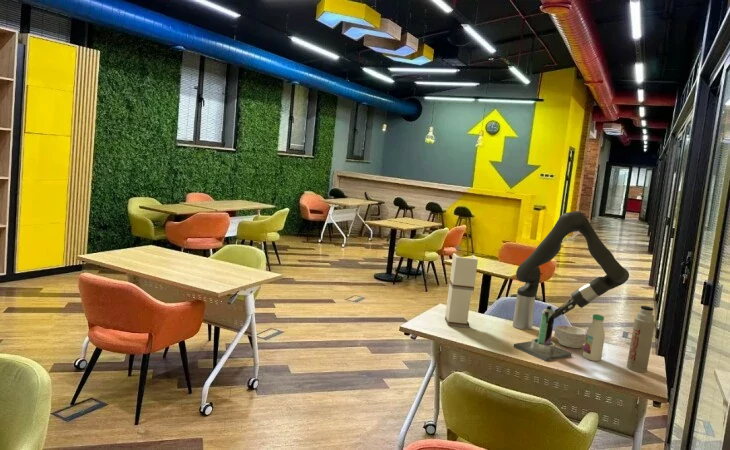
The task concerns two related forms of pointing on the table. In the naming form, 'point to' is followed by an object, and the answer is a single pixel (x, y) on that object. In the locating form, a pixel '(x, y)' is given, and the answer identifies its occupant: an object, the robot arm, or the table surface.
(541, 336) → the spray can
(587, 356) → the milk bottle
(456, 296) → the banded white pillar
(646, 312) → the thermos bottle
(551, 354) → the collar plate
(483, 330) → the table surface
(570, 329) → the paper bowls
